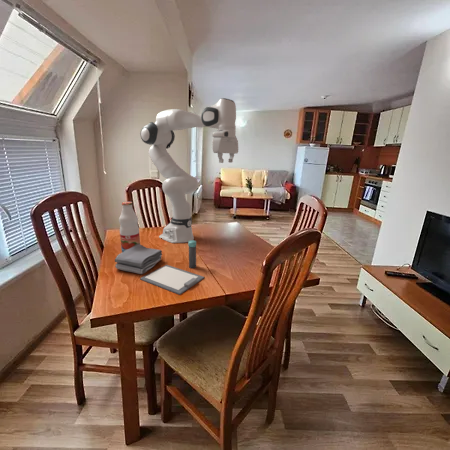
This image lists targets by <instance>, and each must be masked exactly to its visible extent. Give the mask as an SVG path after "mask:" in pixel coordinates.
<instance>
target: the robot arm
mask: <svg viewBox="0 0 450 450" xmlns="http://www.w3.org/2000/svg"><path fill="white" fill-rule="evenodd" d="M236 120H237V106H236V102H235V101H234V100H232V99H229V98H224V97H222V98H219V99H218V101H216V103H214V104H212V105H210V106H206V107H205V108H203V110H202V112H201V113H200V114H199V113H193V112H190V111H188V110H185V109H179V108H171V109H165V110H162V111H159V112H158V113H157V114H156V117H155V122H153V121H151V122H149V123H148V124H146V125H144V126H143V127H141V129H140V133H139V134H140V139H141V141H142V142H143V143H145V144H146V145H150V148H149V149H148V156H149V158H150V160H151V162H152V164H153V165H154V166H155V168H156V169H157V170H158V172H159V174H160V175H161V176H162V177H163V178H165V180H163V182H162V184H161V186H162V187H161V189H162V191H163V193H164V195H166V196H167V197H168V198H169V201H170V203H171V206H172V207H171V208H172V210H171V211H172V217H169V221H170V222H169V223H168V224H167V225H166V226H164V227H163V229H162V233H161V234H160V235H159V236H158V238H159V239H161V238H162V239H161V240H164V241H166V242H168V243H172V244H177V243H180V244H181V243H188V241H191V240H194V239H195V238H194V233H193V228H192V224H193V219H192V212H191V211H192V205H191V203H190V202H189V201H188V200H187V199H186V195H188V194H192V193H193V192H195V191H197V189H198V188H199V181H198V180H197V178H196V177H195V176H193V175H190V174H189V173H188V172H186V171H185V170H184V169H182V168H181V167H180V166H179V165H178V164H177V162H176V161H175V160H174V159H173V157H172V156H171V155H170V153H169V152H168V151H167V150H168V149H170V148H171V145H173V143H174V141H175V137H176V136H175V133H174V131H181V130H182V131H183V130H187V129H193V128H199V127H200V128H205V127H207V128H211V129H216V130H215V131H213V132H212V135H211V137H212V144H211V145H212V147H211V148H212V152H213V153H214V154H217V157H218V163H219V164H223V163H224V159H223V155H224V154H229V155H228V156H229V158H228V160H227V161H228V163H233V162H234V161H233V160H234V157H235V154H238V153H239V140H238V138H237V136H236V132H237V131H236V130H237V129H236Z"/></svg>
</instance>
